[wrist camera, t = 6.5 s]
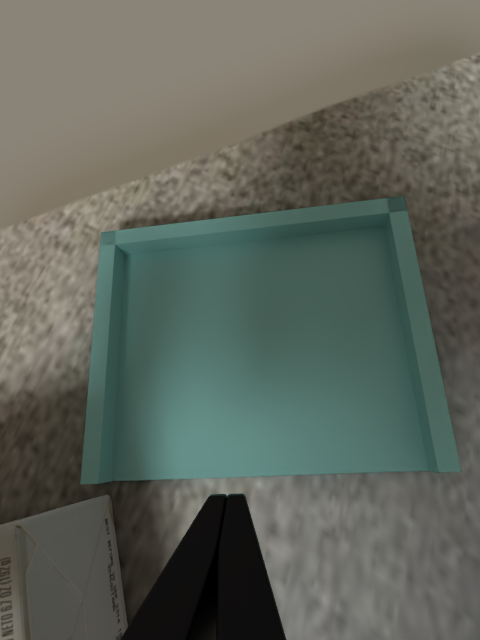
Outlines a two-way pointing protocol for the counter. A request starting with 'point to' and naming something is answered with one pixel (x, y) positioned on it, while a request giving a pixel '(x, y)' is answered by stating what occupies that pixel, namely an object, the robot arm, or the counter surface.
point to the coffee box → (62, 575)
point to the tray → (265, 349)
